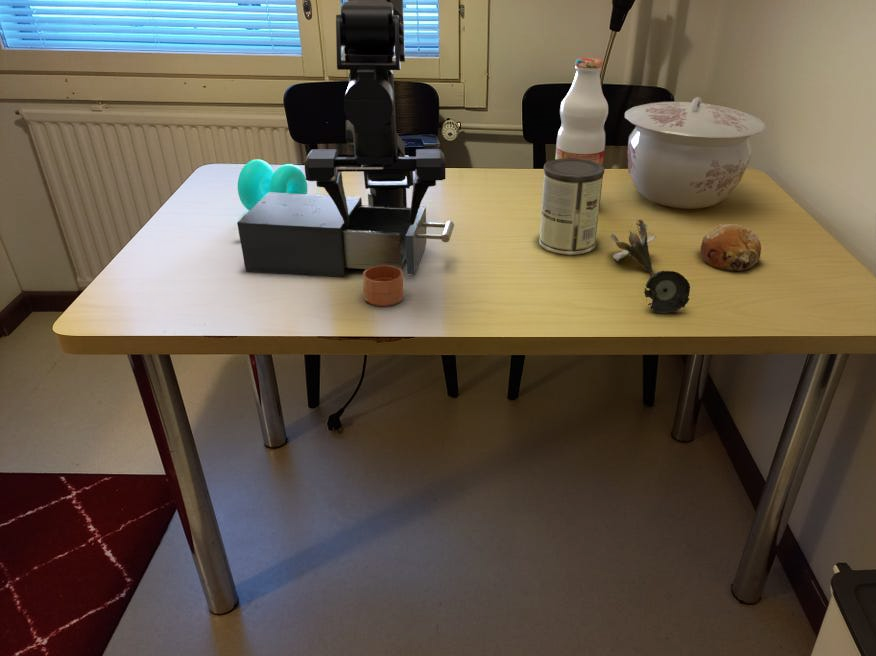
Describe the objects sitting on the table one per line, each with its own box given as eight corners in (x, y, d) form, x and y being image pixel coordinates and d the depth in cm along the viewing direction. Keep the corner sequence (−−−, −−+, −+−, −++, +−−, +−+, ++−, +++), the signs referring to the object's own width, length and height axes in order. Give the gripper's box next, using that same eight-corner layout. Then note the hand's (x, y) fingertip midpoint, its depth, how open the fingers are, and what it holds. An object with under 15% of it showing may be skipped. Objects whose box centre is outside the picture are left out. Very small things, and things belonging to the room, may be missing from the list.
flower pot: (394, 286, 108) (393, 262, 106) (410, 302, 104) (409, 277, 102) (358, 294, 106) (356, 269, 104) (373, 311, 101) (372, 285, 99)
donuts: (284, 226, 128) (276, 173, 123) (239, 218, 131) (230, 166, 126) (312, 209, 136) (307, 158, 131) (269, 202, 139) (262, 152, 133)
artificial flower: (633, 321, 103) (623, 259, 99) (614, 273, 123) (605, 220, 119) (693, 309, 102) (685, 245, 98) (664, 262, 122) (656, 208, 118)
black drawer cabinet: (364, 242, 123) (361, 196, 118) (344, 277, 111) (340, 228, 106) (275, 237, 124) (268, 192, 119) (245, 271, 112) (236, 222, 107)
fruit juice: (542, 203, 142) (552, 57, 127) (576, 195, 146) (590, 53, 131) (572, 217, 135) (587, 65, 120) (607, 209, 140) (625, 61, 125)
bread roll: (753, 275, 123) (763, 231, 122) (759, 274, 113) (769, 225, 112) (696, 267, 126) (705, 223, 124) (697, 264, 116) (707, 217, 115)
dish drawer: (456, 244, 121) (456, 207, 117) (447, 276, 110) (446, 237, 106) (341, 237, 122) (337, 201, 118) (320, 269, 111) (315, 230, 107)
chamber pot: (647, 226, 132) (665, 115, 121) (594, 181, 154) (605, 84, 143) (775, 217, 138) (803, 110, 127) (706, 175, 160) (725, 81, 149)
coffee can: (549, 229, 130) (555, 154, 122) (602, 239, 126) (611, 163, 119) (529, 248, 122) (535, 170, 114) (585, 259, 119) (594, 179, 111)
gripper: (441, 98, 98) (442, 204, 106) (308, 97, 96) (320, 205, 104) (445, 117, 88) (445, 231, 97) (298, 117, 87) (311, 233, 95)
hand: (380, 224), depth 98 cm, fingers open, 9 cm apart
